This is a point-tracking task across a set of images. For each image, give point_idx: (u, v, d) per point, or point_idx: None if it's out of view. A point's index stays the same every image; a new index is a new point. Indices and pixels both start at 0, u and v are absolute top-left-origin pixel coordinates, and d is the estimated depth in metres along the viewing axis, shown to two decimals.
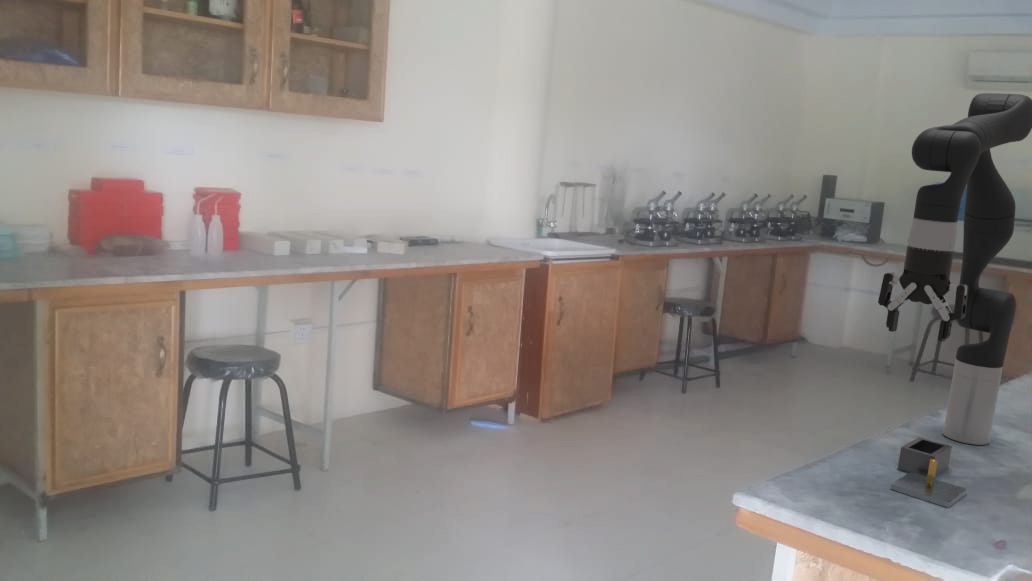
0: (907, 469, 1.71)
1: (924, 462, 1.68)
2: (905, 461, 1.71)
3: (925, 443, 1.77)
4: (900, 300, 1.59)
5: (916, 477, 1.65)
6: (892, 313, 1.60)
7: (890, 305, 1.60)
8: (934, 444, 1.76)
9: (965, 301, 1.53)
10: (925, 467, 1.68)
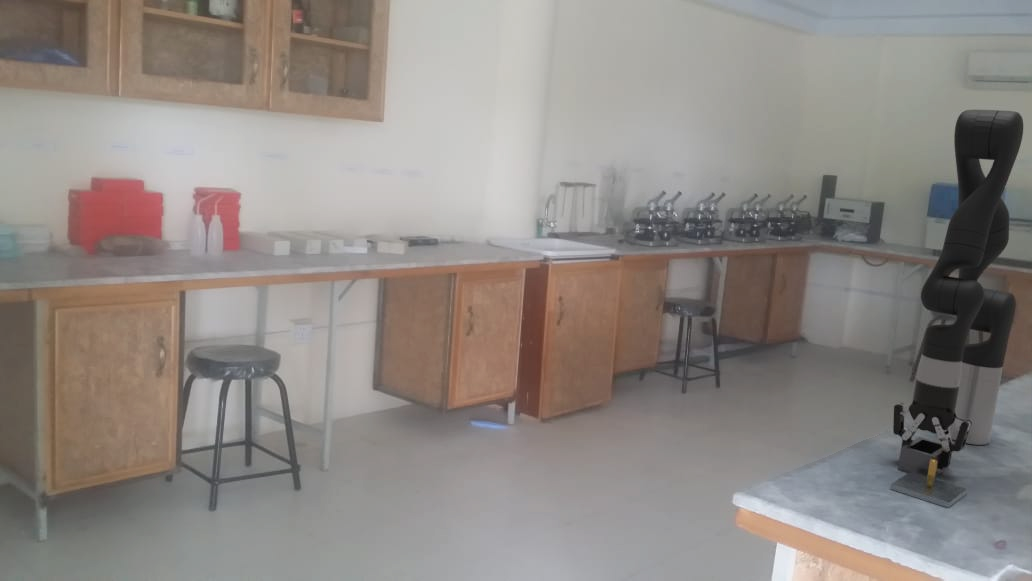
0: (907, 469, 1.71)
1: (924, 462, 1.68)
2: (905, 461, 1.71)
3: (925, 443, 1.77)
4: (912, 430, 1.73)
5: (916, 477, 1.65)
6: (906, 442, 1.74)
7: (904, 435, 1.74)
8: (934, 444, 1.76)
9: (966, 436, 1.68)
10: (925, 467, 1.68)
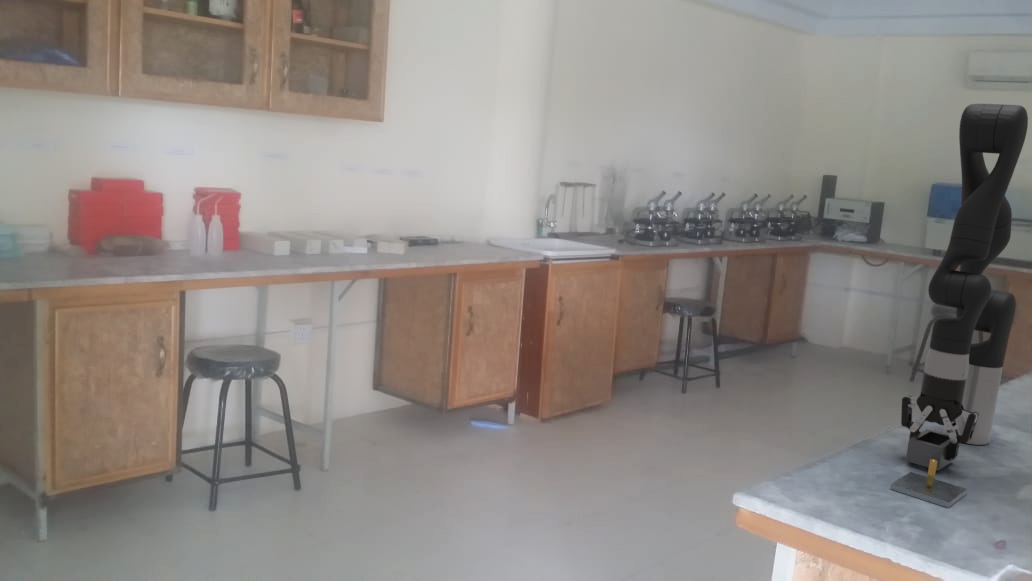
0: (915, 460, 1.73)
1: (932, 453, 1.71)
2: (913, 453, 1.74)
3: (933, 435, 1.79)
4: (920, 422, 1.75)
5: (916, 477, 1.65)
6: (914, 434, 1.77)
7: (912, 427, 1.77)
8: (942, 436, 1.78)
9: (973, 427, 1.71)
10: (933, 458, 1.71)
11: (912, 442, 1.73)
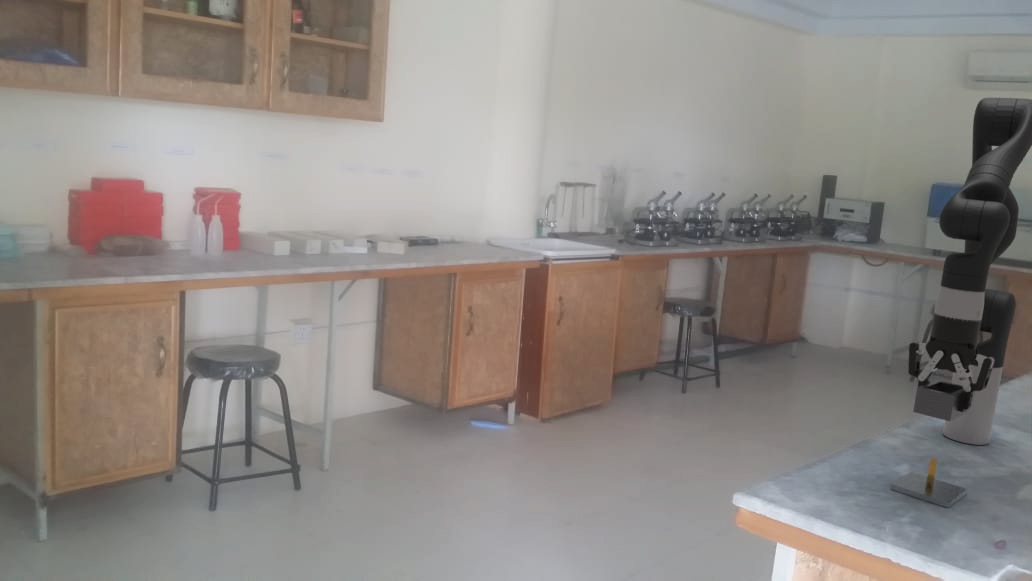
0: (924, 411, 1.56)
1: (943, 402, 1.54)
2: (921, 402, 1.56)
3: (943, 385, 1.62)
4: (929, 369, 1.58)
5: (916, 477, 1.65)
6: (923, 384, 1.60)
7: (920, 376, 1.60)
8: (953, 386, 1.61)
9: (989, 374, 1.53)
10: (944, 408, 1.54)
11: (920, 391, 1.56)
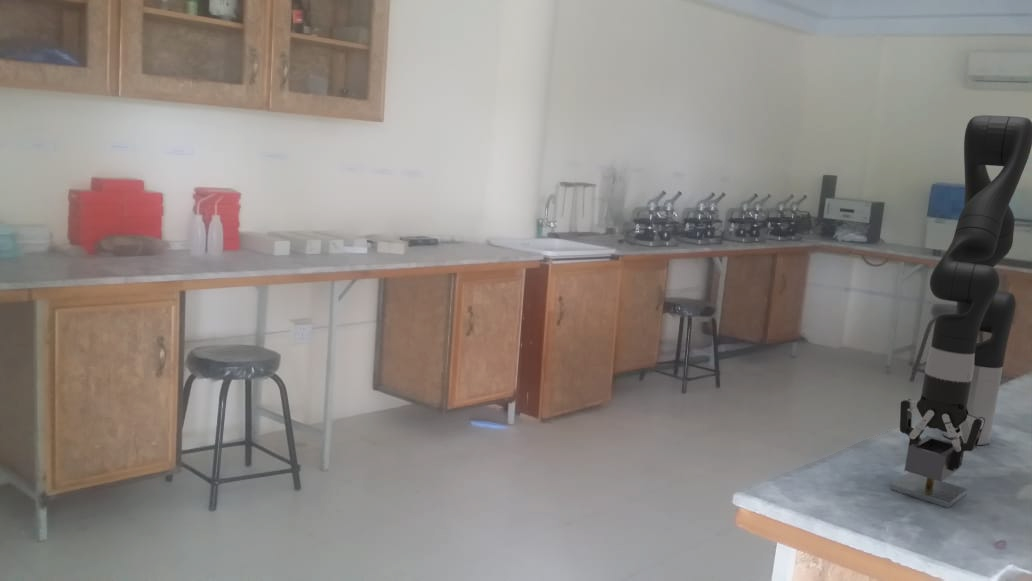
0: (915, 470, 1.58)
1: (934, 463, 1.55)
2: (912, 462, 1.58)
3: (935, 442, 1.64)
4: (920, 428, 1.60)
5: (916, 477, 1.65)
6: (914, 442, 1.61)
7: (911, 434, 1.61)
8: (944, 443, 1.63)
9: (979, 434, 1.55)
10: (935, 468, 1.55)
11: (912, 450, 1.58)
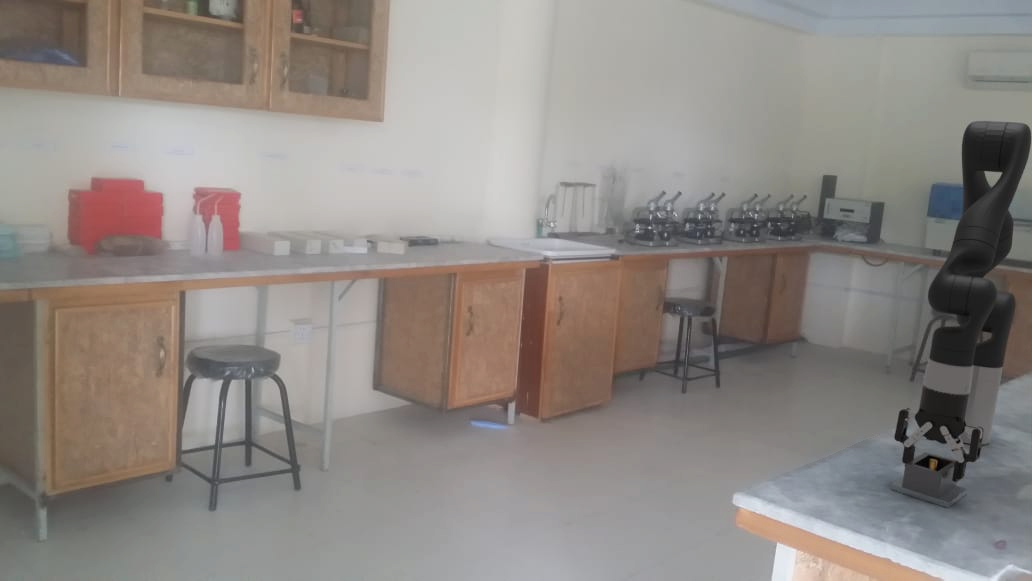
0: (912, 487, 1.58)
1: (931, 480, 1.56)
2: (910, 479, 1.59)
3: (932, 458, 1.64)
4: (916, 438, 1.60)
5: None
6: (908, 450, 1.62)
7: (906, 442, 1.62)
8: (941, 460, 1.63)
9: (980, 444, 1.55)
10: (932, 485, 1.56)
11: (909, 467, 1.58)
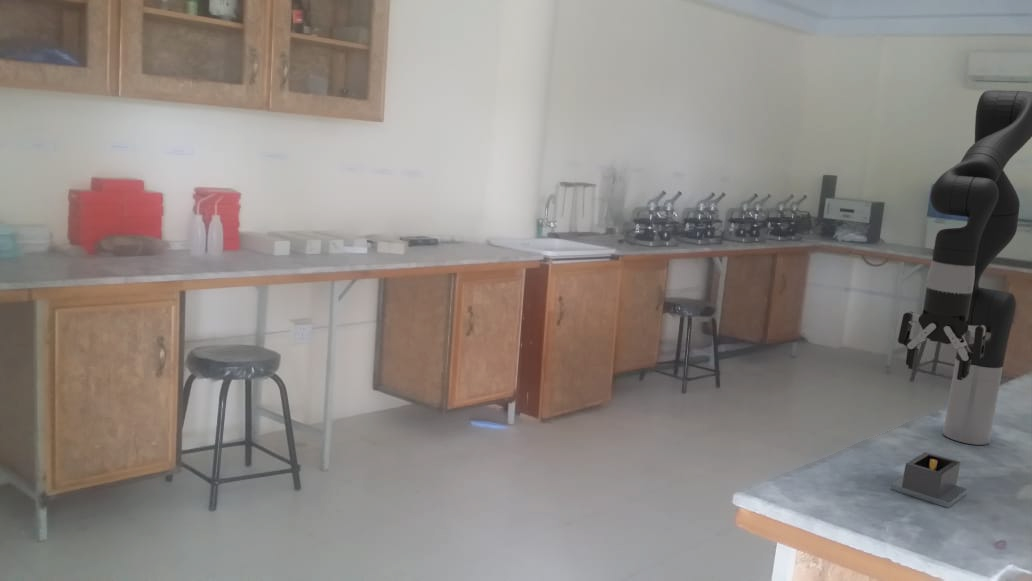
0: (912, 487, 1.58)
1: (931, 480, 1.56)
2: (910, 479, 1.59)
3: (932, 458, 1.64)
4: (920, 339, 1.64)
5: None
6: (912, 352, 1.65)
7: (910, 344, 1.65)
8: (941, 460, 1.63)
9: (983, 341, 1.58)
10: (932, 485, 1.56)
11: (909, 467, 1.58)
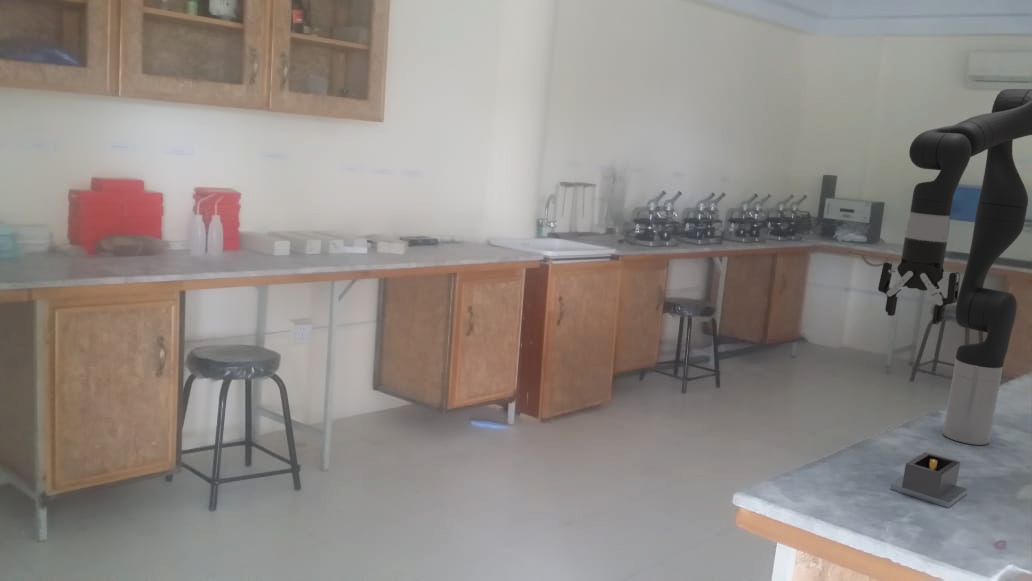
0: (912, 487, 1.58)
1: (931, 480, 1.56)
2: (910, 479, 1.59)
3: (932, 458, 1.64)
4: (898, 287, 1.74)
5: None
6: (891, 299, 1.76)
7: (889, 291, 1.76)
8: (941, 460, 1.63)
9: (957, 287, 1.69)
10: (932, 485, 1.56)
11: (909, 467, 1.58)
